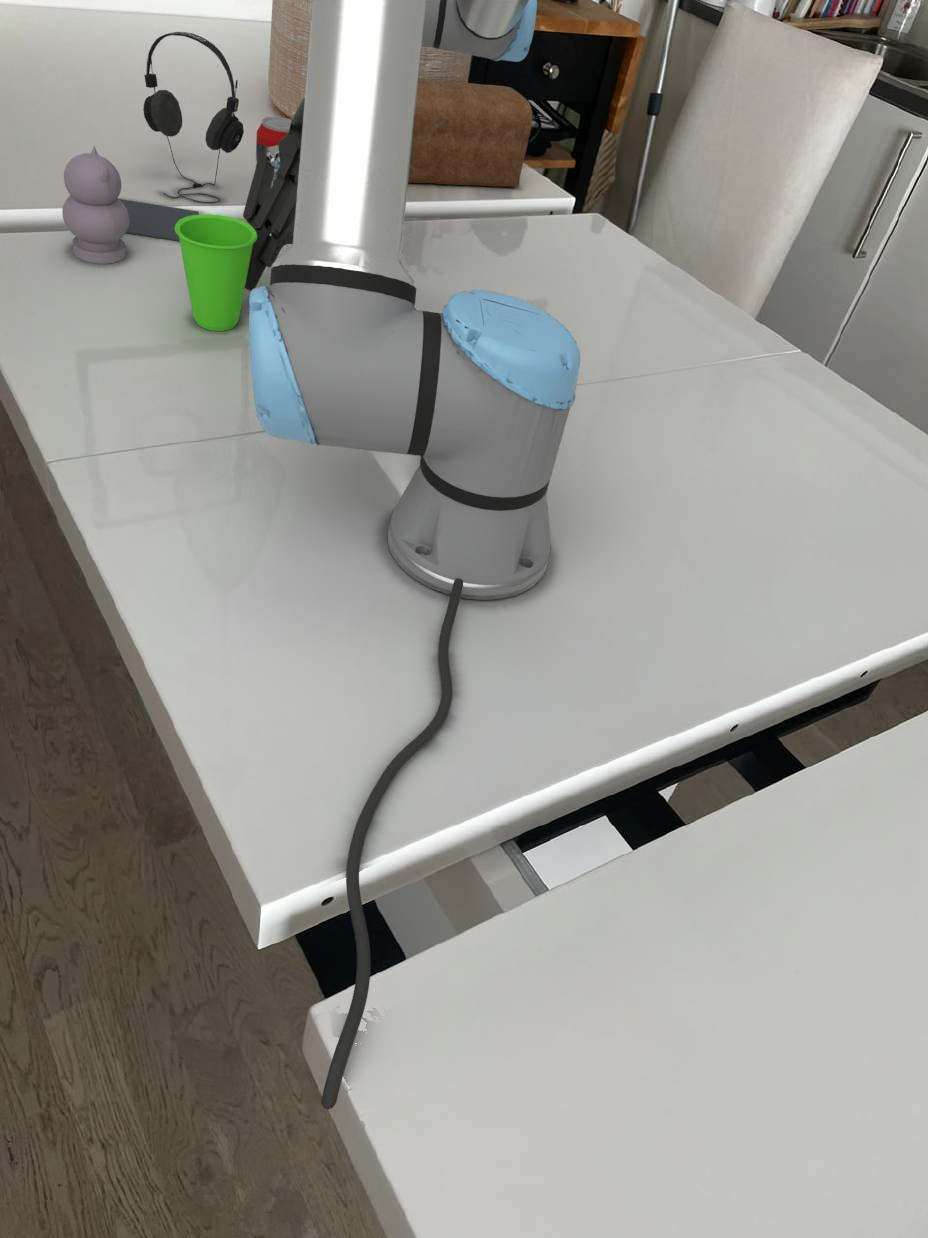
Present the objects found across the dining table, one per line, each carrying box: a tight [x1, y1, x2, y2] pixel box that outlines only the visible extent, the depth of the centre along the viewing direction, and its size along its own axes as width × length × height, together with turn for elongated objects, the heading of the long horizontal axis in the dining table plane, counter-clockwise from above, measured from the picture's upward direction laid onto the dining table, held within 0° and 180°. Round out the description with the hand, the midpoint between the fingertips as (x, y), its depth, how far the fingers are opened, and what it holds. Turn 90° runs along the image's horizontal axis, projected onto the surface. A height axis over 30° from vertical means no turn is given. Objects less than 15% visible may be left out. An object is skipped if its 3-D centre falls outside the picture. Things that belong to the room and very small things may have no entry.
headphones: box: [142, 31, 245, 204], centre depth 141 cm, size 15×11×20 cm
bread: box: [408, 78, 533, 188], centre depth 166 cm, size 14×34×14 cm, turn 111°
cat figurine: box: [61, 145, 129, 265], centre depth 122 cm, size 8×8×12 cm
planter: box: [267, 0, 473, 120], centre depth 177 cm, size 37×37×32 cm
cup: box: [174, 213, 257, 332], centre depth 114 cm, size 9×9×11 cm
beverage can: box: [255, 116, 292, 189], centre depth 143 cm, size 7×7×12 cm
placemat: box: [118, 198, 200, 242], centre depth 136 cm, size 11×11×1 cm
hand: (243, 284), depth 119 cm, fingers closed
